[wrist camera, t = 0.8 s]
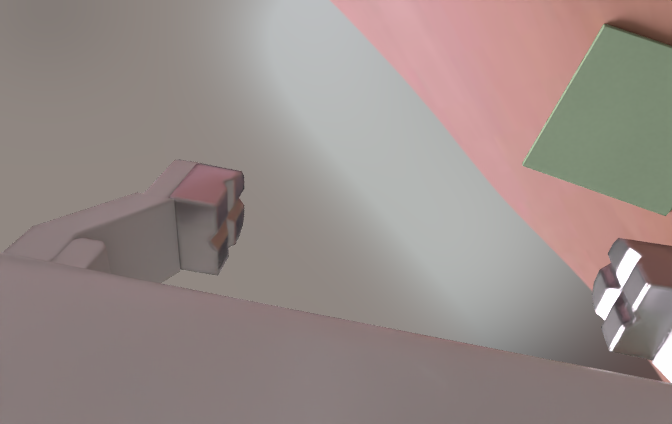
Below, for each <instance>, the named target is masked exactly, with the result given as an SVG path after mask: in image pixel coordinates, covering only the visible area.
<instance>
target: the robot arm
mask: <svg viewBox="0 0 672 424" xmlns="http://www.w3.org/2000/svg"><path fill="white" fill-rule="evenodd" d="M243 190H244V175H243V173H242V171H237V170H232V169H227V168H222V167H217V166H212V165H207V164H202V163H197V162H192V161H186V160H174V161H173V162H172V163H171V164H170V165H169V167H168V168H167V169H166V170H165V171H164V172H163V173H162V174H161V175H160V176H159V177H158V178H157V179H156V181H155V182H154V183H153V184H152V185H151V186H150V187H149V188H148V189H147V190H146V191H145V192H144V193H138V192H137V193H134V194H131V195H127V196H124V197H121V198H118V199H115V200H112V201H109V202H106V203H103V204H100V205H97V206H94V207H91V208H88V209H85V210H81V211H78V212H75V213H72V214H69V215H66V216H63V217H60V218H57V219H54V220H50V221H47V222H44V223H41V224H38V225H35V226H32V227H31V228H30V229H29V230H28V231H27V232H26V233H24V234H23V235H22V236H21V237H20V238H19V239H17V240H16V241H15V242H14V243H13V244H12V245H11V246H9V247H8V248H7V249H6V250H5V251H4V252H0V424H672V246H668V245H661V244H655V243H648V242H642V241H635V240H628V239H621V238H618V239H617V240H616V241H615V242H614V243H613V245H612V247H611V248H610V250H609V252H608V255H609V258H610V261H611V263H610V264H609V265H607V266H605V267H603V268H602V269H600V270H599V272H598V275H597V277H596V279H595V281H594V286H593V292H592V298H593V305H594V308H595V311H596V313H598V314H599V315H600V316H601V317H602V318H603V319H604V320H605V321H604V323H603V325H602V326H601V328H602V331H603V334H604V337H605V340H606V342H607V345H608V348H609V351H611V352H616V353H621V354H625V355H630V356H634V357H639V358H643V359H648V360H653V361H652V363H653V364H654V365H655V366H656V367H657V368H658V369H659V370H660V371H661V372H662V373H663V374H664V376H665V377H666V378H667V379H668V380H669V381H670V382H671V383H667V382H661V381H656V380H651V379H646V378H641V377H636V376H631V375H625V374H621V373H615V372H610V371H605V370H600V369H595V368H590V367H585V366H580V365H575V364H569V363H564V362H559V361H554V360H549V359H544V358H539V357H533V356H528V355H523V354H518V353H512V352H508V351H503V350H498V349H493V348H488V347H482V346H477V345H472V344H467V343H462V342H457V341H452V340H446V339H442V338H437V337H431V336H426V335H421V334H416V333H411V332H406V331H401V330H396V329H391V328H386V327H380V326H375V325H370V324H365V323H360V322H355V321H349V320H345V319H340V318H335V317H330V316H324V315H319V314H314V313H309V312H304V311H299V310H293V309H289V308H284V307H278V306H273V305H268V304H263V303H258V302H253V301H248V300H243V299H237V298H233V297H227V296H222V295H217V294H212V293H207V292H202V291H197V290H192V289H187V288H182V287H176V286H171V285H166V284H161V283H162V282H163V281H165V280H167V279H168V278H170V277H172V276H173V275H175V274H176V273H178V272H180V269H182V270H188V271H194V272H200V273H206V274H212V275H219V273H220V271H221V269H222V267H223V266H224V264H225V262H226V260H227V259H228V256H229V255H228V254H229V253H228V248H229V247H231V246H233V245H235V244H236V242H237V240H238V238H239V236H240V233H241V229H242V226H243V219H244V205H243V203H242V202H241V200H240V199H239V197H240V195H241V193H242V192H243Z"/></svg>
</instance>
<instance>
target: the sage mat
mask: <svg viewBox="0 0 672 424" xmlns="http://www.w3.org/2000/svg"><path fill="white" fill-rule="evenodd" d="M523 166H525V167H528V168H530V169H533V170H536V171H539V172H542V173H545V174H548V175H550V176H553V177H556V178H559V179H562V180H565V181H567V182H570V183H573V184H576V185H579V186H582V187H584V188H587V189H590V190H593V191H596V192H599V193H601V194H604V195H607V196H610V197H613V198H616V199H618V200H621V201H624V202H627V203H630V204H633V205H636V206H638V207H641V208H644V209H647V210H650V211H653V212H655V213H658V214H661V215H664V216H666V215H667V214H668V213H669V212H670V211H671V210H672V46H671V45H668V44H665V43H662V42H659V41H656V40H653V39H650V38H647V37H644V36H641V35H638V34H635V33H632V32H629V31H626V30H623V29H620V28H617V27H614V26H611V25H608V24H603V26H602V28H601V30H600V31H599V33H598V35H597V36H596V38H595V40H594V42H593V43H592V45H591V47H590V48H589V50H588V52H587V53H586V55H585V57H584V59H583V60H582V62H581V64H580V65H579V67H578V69H577V71H576V72H575V74H574V76H573V77H572V79H571V81H570V82H569V84H568V86H567V88H566V89H565V91H564V93H563V94H562V96H561V98H560V100H559V101H558V103H557V105H556V106H555V108H554V110H553V112H552V113H551V115H550V117H549V118H548V120H547V122H546V123H545V125H544V127H543V129H542V130H541V132H540V134H539V135H538V137H537V139H536V141H535V142H534V144H533V146H532V147H531V149H530V151H529V152H528V154H527V156H526V158H525V159H524V161H523Z"/></svg>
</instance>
